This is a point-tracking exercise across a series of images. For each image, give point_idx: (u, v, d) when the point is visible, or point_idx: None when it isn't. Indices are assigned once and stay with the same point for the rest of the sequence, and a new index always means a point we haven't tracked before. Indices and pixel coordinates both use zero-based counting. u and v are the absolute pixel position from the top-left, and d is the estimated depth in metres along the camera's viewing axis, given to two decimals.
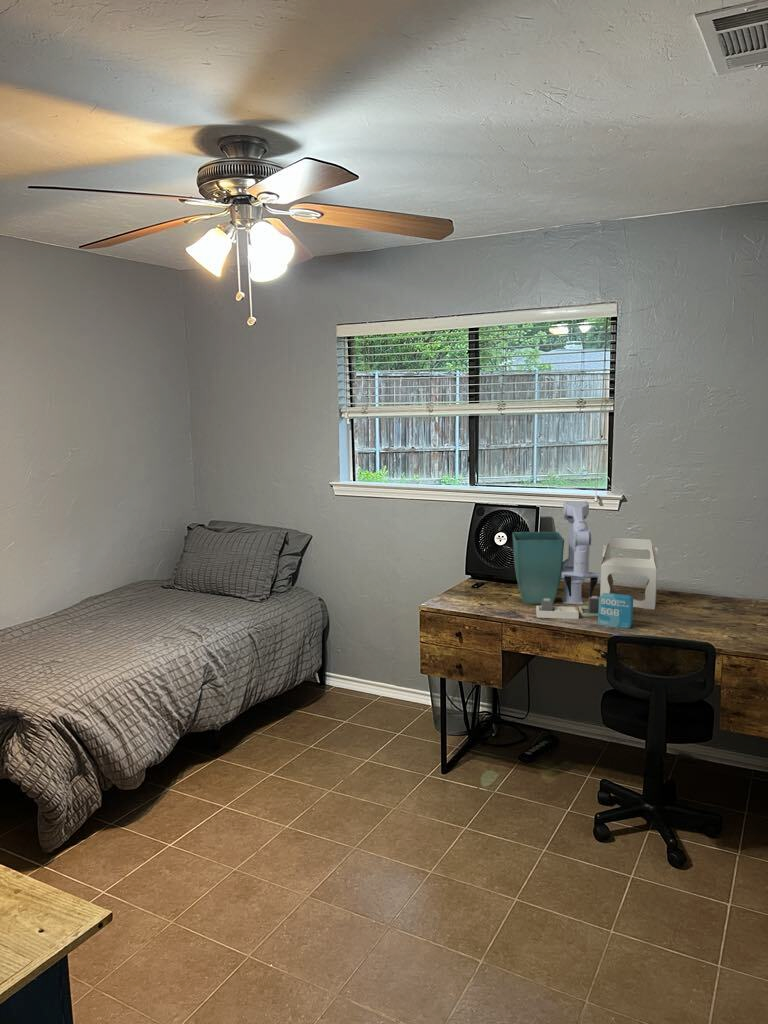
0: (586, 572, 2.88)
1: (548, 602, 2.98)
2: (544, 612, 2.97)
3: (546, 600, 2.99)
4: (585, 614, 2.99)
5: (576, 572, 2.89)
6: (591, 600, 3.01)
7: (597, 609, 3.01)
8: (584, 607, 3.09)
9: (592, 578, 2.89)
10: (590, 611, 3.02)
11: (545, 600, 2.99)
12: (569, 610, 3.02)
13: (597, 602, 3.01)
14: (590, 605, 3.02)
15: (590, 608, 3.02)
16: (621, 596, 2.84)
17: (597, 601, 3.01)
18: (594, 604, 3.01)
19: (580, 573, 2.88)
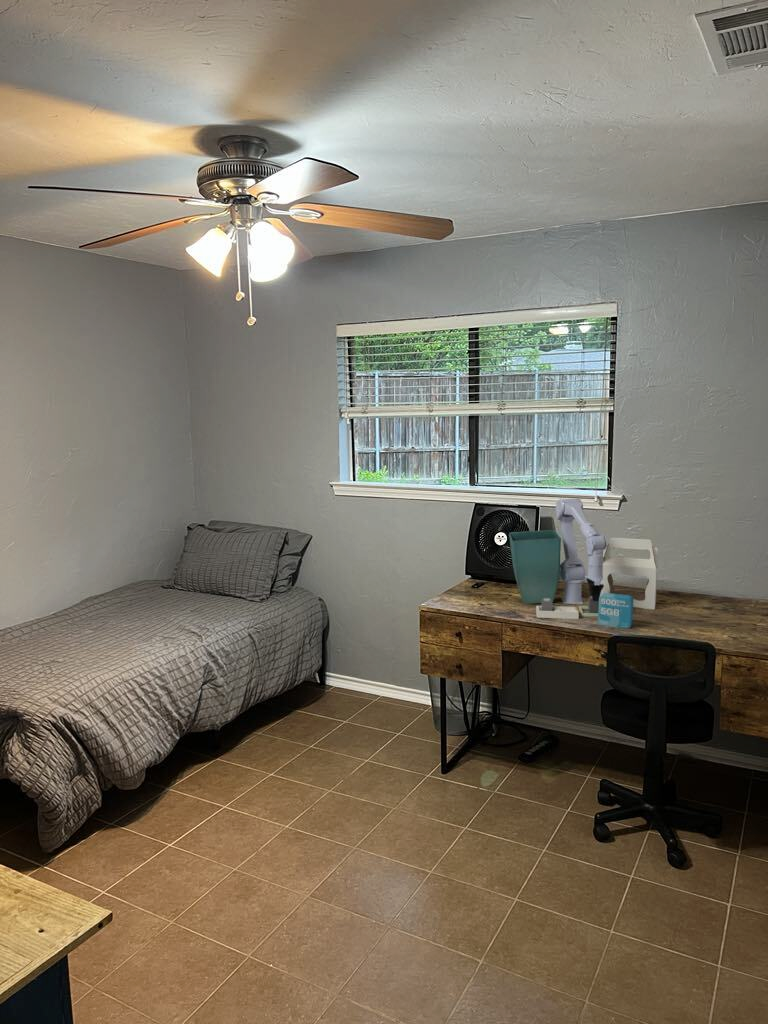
0: (590, 575, 3.00)
1: (548, 602, 2.98)
2: (544, 612, 2.97)
3: (546, 600, 2.99)
4: (585, 614, 2.99)
5: None
6: (591, 600, 3.01)
7: (597, 609, 3.01)
8: (584, 607, 3.09)
9: (594, 583, 2.98)
10: (590, 611, 3.02)
11: (545, 600, 2.99)
12: (569, 610, 3.02)
13: (597, 602, 3.01)
14: (590, 605, 3.02)
15: (590, 608, 3.02)
16: (621, 596, 2.84)
17: (597, 601, 3.01)
18: (594, 604, 3.01)
19: None
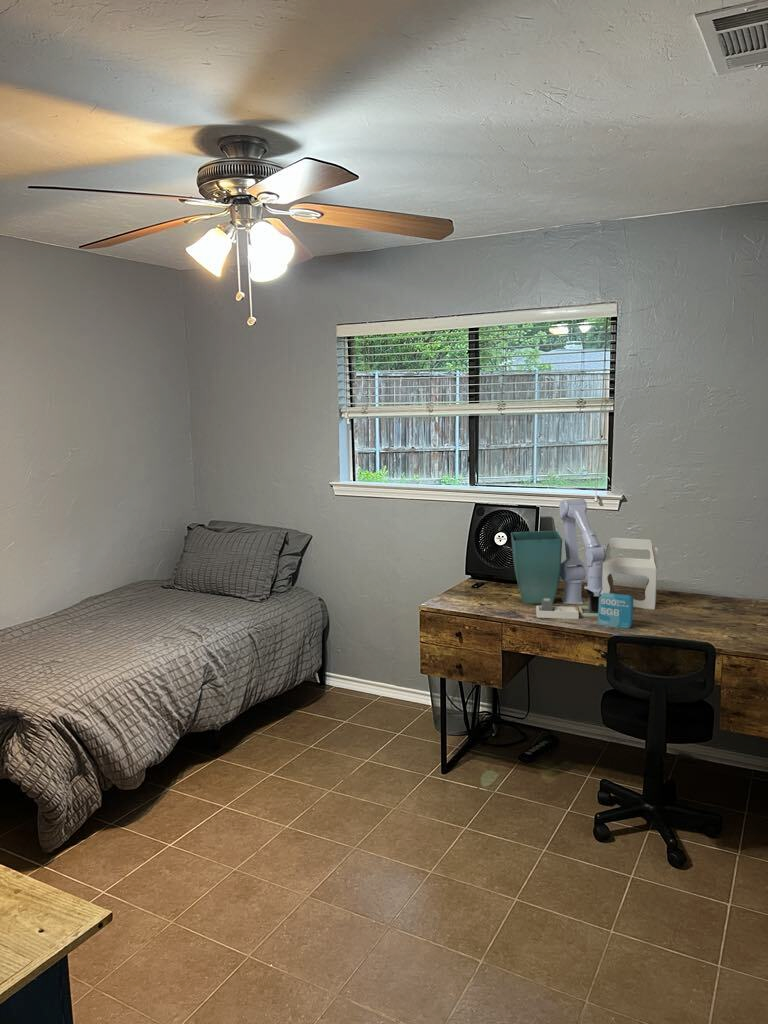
0: (589, 586, 3.01)
1: (548, 602, 2.98)
2: (544, 612, 2.97)
3: (546, 600, 2.99)
4: (585, 614, 2.99)
5: None
6: None
7: None
8: (584, 607, 3.09)
9: (593, 594, 2.98)
10: (590, 611, 3.02)
11: (545, 600, 2.99)
12: (569, 610, 3.02)
13: None
14: (590, 605, 3.02)
15: (590, 608, 3.02)
16: (621, 596, 2.84)
17: None
18: None
19: (587, 585, 3.03)
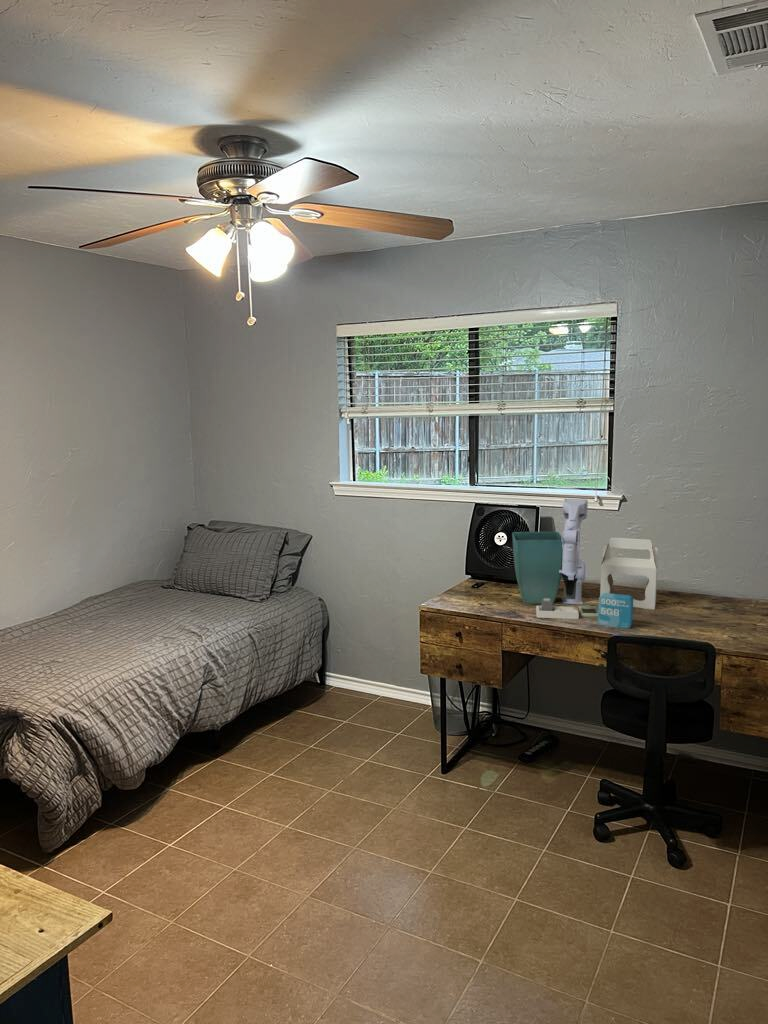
0: (564, 569, 2.95)
1: (548, 602, 2.98)
2: (544, 612, 2.97)
3: (546, 600, 2.99)
4: (585, 614, 2.99)
5: None
6: None
7: (573, 594, 2.96)
8: (584, 607, 3.09)
9: (568, 577, 2.93)
10: (566, 596, 2.97)
11: (545, 600, 2.99)
12: (569, 610, 3.02)
13: None
14: None
15: None
16: (621, 596, 2.84)
17: None
18: None
19: (562, 569, 2.98)
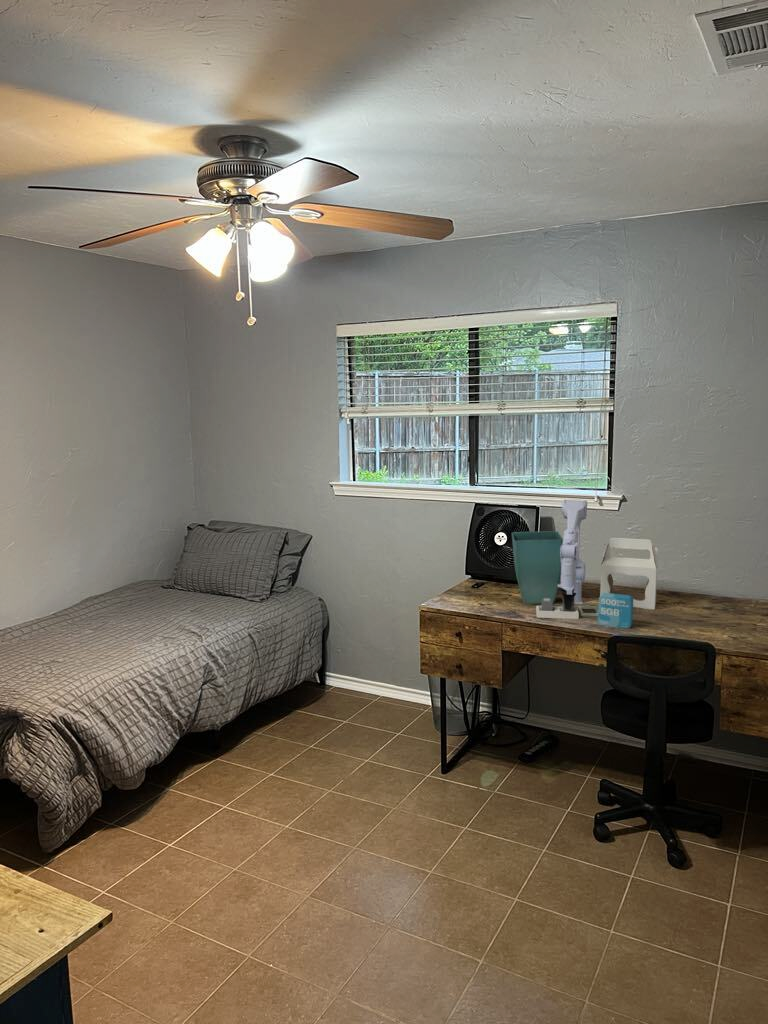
0: (563, 584, 2.96)
1: (548, 602, 2.98)
2: (544, 612, 2.97)
3: (546, 600, 2.99)
4: (585, 614, 2.99)
5: None
6: None
7: (571, 608, 2.97)
8: (584, 607, 3.09)
9: (566, 592, 2.94)
10: (564, 610, 2.97)
11: (545, 600, 2.99)
12: None
13: None
14: None
15: (564, 607, 2.97)
16: (621, 596, 2.84)
17: None
18: None
19: None
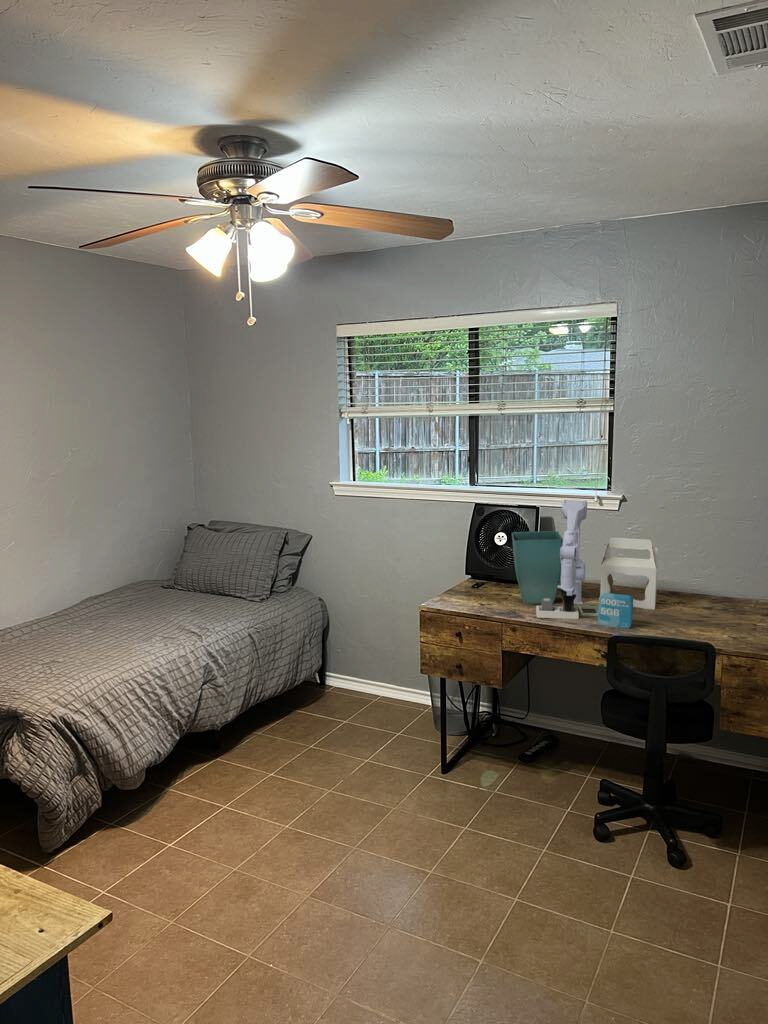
0: (563, 585, 2.96)
1: (548, 602, 2.98)
2: (544, 612, 2.97)
3: (546, 600, 2.99)
4: (585, 614, 2.99)
5: None
6: None
7: None
8: (584, 607, 3.09)
9: (566, 593, 2.94)
10: None
11: (545, 600, 2.99)
12: None
13: None
14: (564, 608, 2.97)
15: None
16: (621, 596, 2.84)
17: None
18: None
19: None
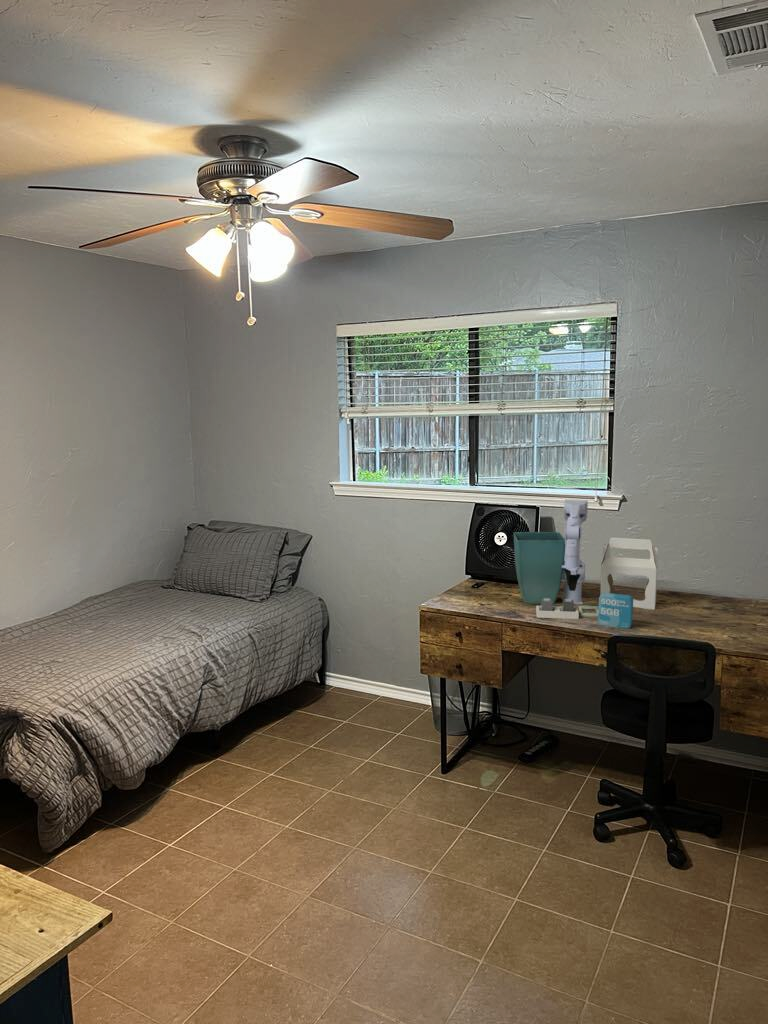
0: (567, 564, 3.02)
1: (548, 602, 2.98)
2: (544, 612, 2.97)
3: (546, 600, 2.99)
4: (585, 614, 2.99)
5: None
6: (565, 603, 2.97)
7: None
8: (584, 607, 3.09)
9: (570, 572, 2.99)
10: None
11: (545, 600, 2.99)
12: None
13: (571, 605, 2.97)
14: (564, 608, 2.97)
15: None
16: (621, 596, 2.84)
17: (571, 604, 2.97)
18: (568, 607, 2.97)
19: (564, 564, 3.04)
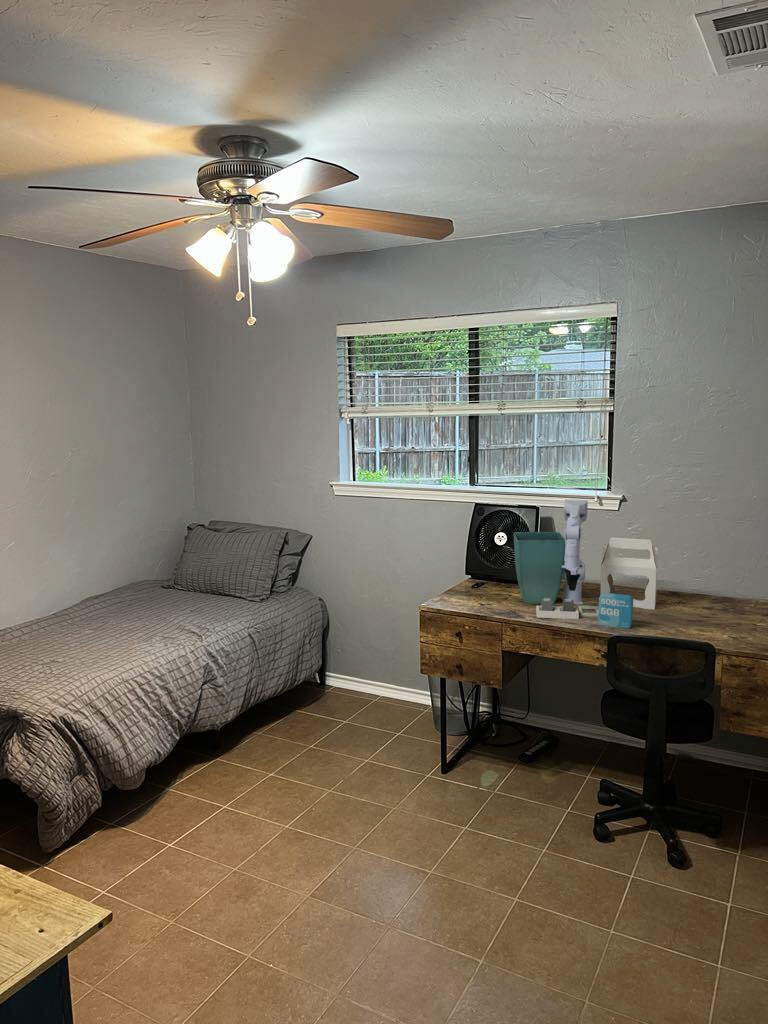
0: (567, 564, 3.02)
1: (548, 602, 2.98)
2: (544, 612, 2.97)
3: (546, 600, 2.99)
4: (585, 614, 2.99)
5: None
6: (565, 603, 2.97)
7: None
8: (584, 607, 3.09)
9: (570, 572, 2.99)
10: None
11: (545, 600, 2.99)
12: None
13: (571, 605, 2.97)
14: (564, 608, 2.97)
15: None
16: (621, 596, 2.84)
17: (571, 604, 2.97)
18: (568, 607, 2.97)
19: (564, 564, 3.04)
